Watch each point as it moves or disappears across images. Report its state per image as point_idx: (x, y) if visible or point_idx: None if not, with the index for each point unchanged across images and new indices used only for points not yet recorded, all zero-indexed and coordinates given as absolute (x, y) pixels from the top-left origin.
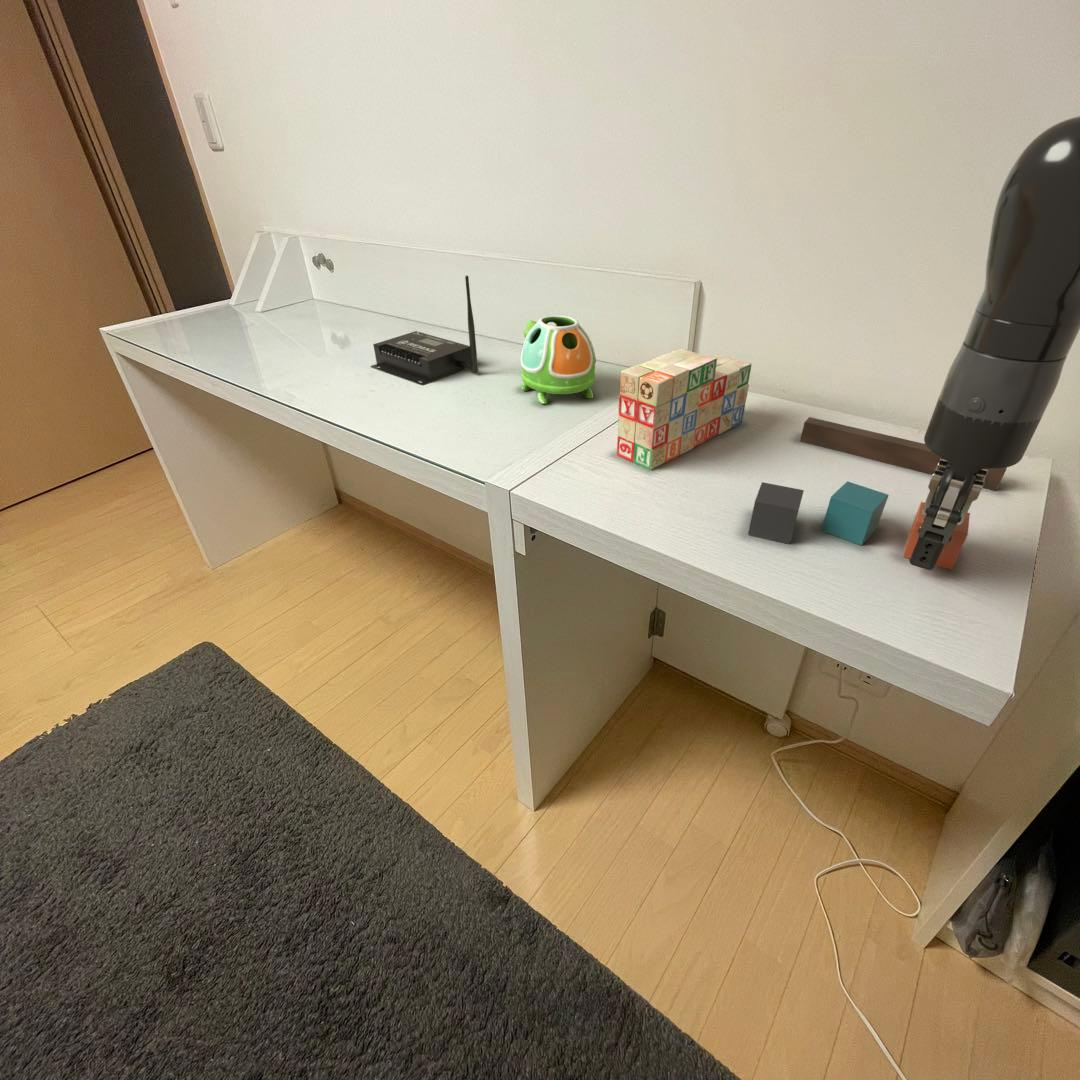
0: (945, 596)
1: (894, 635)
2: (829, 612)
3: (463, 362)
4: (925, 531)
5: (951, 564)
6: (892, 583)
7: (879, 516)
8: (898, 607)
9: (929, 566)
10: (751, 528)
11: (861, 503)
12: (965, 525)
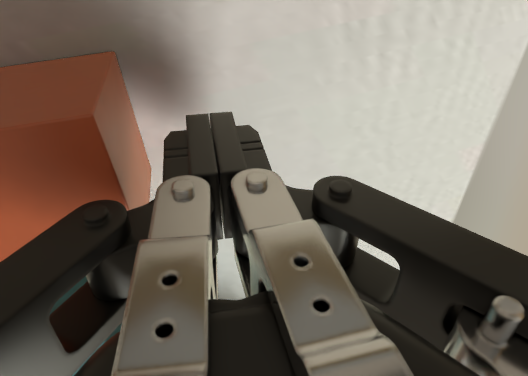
0: (267, 34)
1: (477, 95)
2: (444, 203)
3: None
4: (398, 270)
5: (115, 64)
6: (286, 152)
7: (78, 287)
8: (375, 116)
9: (252, 128)
10: None
11: None
12: (20, 137)
